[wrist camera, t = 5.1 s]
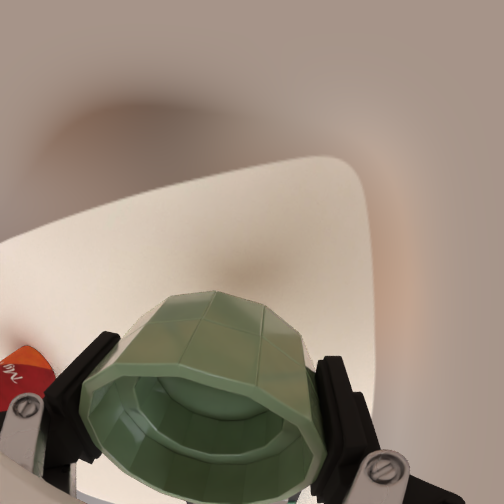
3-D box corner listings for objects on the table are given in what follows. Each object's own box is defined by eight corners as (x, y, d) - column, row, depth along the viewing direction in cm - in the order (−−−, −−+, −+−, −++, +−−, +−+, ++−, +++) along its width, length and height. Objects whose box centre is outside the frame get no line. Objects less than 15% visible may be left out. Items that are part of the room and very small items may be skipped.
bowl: (324, 292, 9) (356, 375, 5) (297, 433, 11) (300, 512, 6) (125, 276, 9) (49, 332, 5) (149, 414, 11) (116, 482, 7)
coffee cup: (32, 328, 22) (-60, 405, 8) (75, 391, 24) (6, 483, 9) (6, 345, 24) (-67, 407, 9) (43, 398, 25) (-17, 470, 11)
